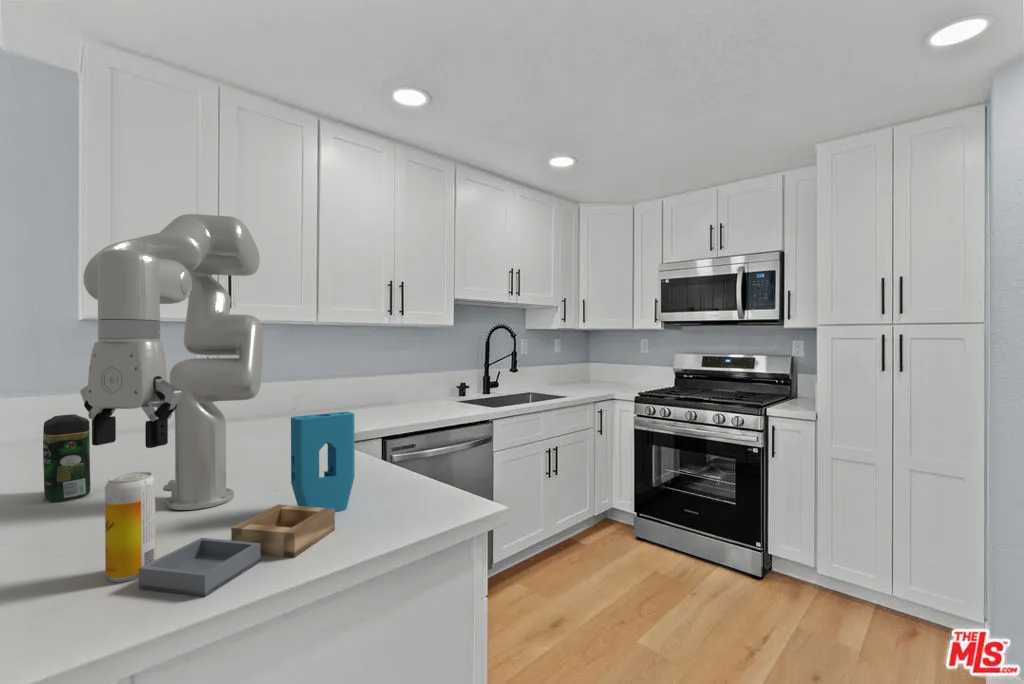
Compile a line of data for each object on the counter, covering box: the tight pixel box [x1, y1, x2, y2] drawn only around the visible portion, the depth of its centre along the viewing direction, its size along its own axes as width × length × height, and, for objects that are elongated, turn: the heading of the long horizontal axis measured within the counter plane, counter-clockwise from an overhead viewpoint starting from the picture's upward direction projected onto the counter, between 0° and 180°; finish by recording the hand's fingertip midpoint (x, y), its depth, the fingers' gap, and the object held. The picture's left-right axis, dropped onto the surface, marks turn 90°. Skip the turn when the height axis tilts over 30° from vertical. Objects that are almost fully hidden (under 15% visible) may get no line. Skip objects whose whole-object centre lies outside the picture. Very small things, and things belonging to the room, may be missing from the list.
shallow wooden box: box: [230, 504, 336, 558], centre depth 88 cm, size 12×12×4 cm
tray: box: [138, 537, 262, 598], centre depth 75 cm, size 11×11×3 cm
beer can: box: [104, 471, 157, 583], centre depth 76 cm, size 6×6×15 cm
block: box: [290, 411, 356, 513], centre depth 103 cm, size 12×5×20 cm, turn 130°
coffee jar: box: [42, 413, 91, 502], centre depth 113 cm, size 10×8×19 cm
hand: (130, 444), depth 75 cm, fingers open, 9 cm apart
